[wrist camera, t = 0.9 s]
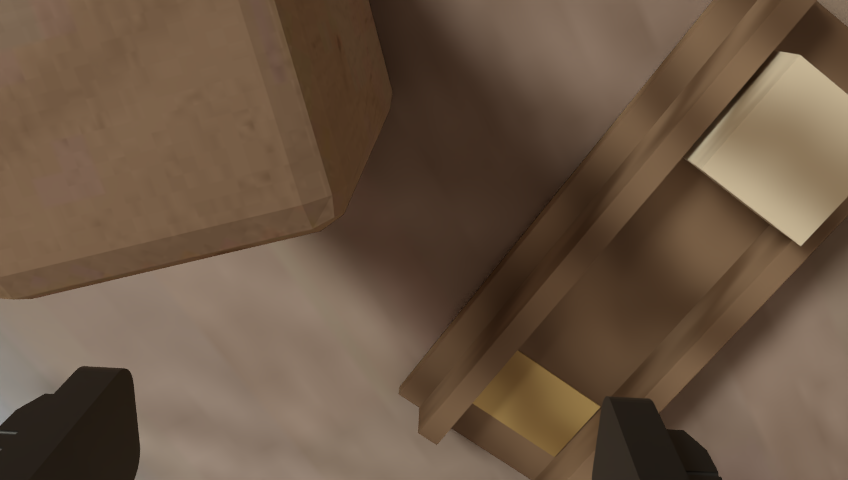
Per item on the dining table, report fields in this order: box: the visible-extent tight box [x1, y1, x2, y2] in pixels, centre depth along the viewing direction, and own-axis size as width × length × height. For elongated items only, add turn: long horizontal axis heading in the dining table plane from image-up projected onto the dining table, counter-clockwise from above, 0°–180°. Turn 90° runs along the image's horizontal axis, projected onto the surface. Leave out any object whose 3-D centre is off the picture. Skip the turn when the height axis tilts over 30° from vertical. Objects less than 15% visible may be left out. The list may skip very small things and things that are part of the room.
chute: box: [399, 0, 848, 480], centre depth 38 cm, size 28×12×3 cm, turn 144°
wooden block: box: [0, 0, 393, 299], centre depth 26 cm, size 10×10×20 cm
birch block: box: [683, 50, 848, 246], centre depth 34 cm, size 6×6×4 cm
